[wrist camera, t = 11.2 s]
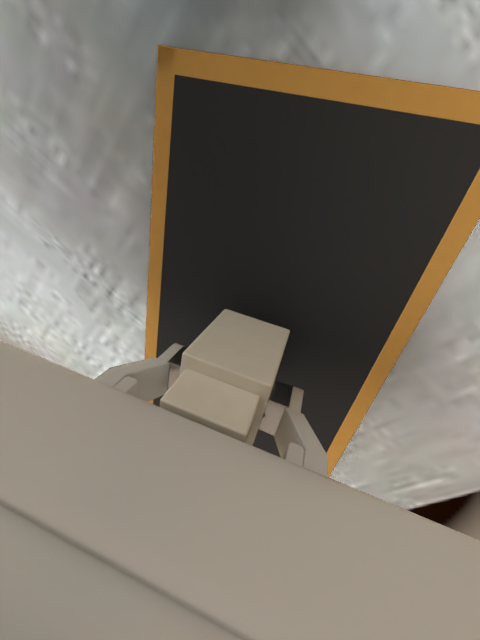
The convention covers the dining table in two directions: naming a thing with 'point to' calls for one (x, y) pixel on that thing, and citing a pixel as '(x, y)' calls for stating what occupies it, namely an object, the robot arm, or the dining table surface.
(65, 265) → the dining table surface
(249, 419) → the stepped beige block
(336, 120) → the centre mat
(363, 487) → the dining table surface
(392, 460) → the dining table surface
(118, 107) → the dining table surface
